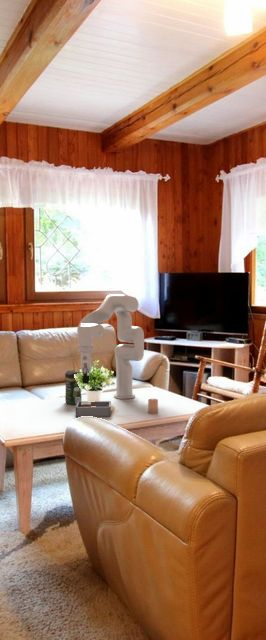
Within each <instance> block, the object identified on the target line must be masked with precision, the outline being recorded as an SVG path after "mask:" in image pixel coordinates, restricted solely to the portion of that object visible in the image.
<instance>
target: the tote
mask: <svg viewBox="0 0 266 640" xmlns="http://www.w3.org/2000/svg"><path fill="white" fill-rule="evenodd" d="M88 401H89V400H88ZM88 401H87V400H86V401H85V400H84V401H83V400H81V401H78V403H77V405H75V417H76V418H81V417H80V416H95V417H94V418H110V417H111V415H112V401H110V400H103V401H102V400H100V401H99V400H97V401H95V400H94V401H95V402H91V406H96V407H81V403H82V402H88Z"/></svg>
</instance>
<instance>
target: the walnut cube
mask: <svg viewBox="0 0 266 640" xmlns="http://www.w3.org/2000/svg"><path fill="white" fill-rule="evenodd" d="M81 407H91V402H82V403H81Z"/></svg>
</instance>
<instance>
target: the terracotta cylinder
mask: <svg viewBox="0 0 266 640" xmlns="http://www.w3.org/2000/svg"><path fill="white" fill-rule="evenodd" d="M147 404H148V407H147V410H148V412H147V413H148V414H150V415H157V414H158V412H159V411H158V410H159V399H158V398H149V399H148V400H147Z"/></svg>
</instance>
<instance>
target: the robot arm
mask: <svg viewBox="0 0 266 640" xmlns="http://www.w3.org/2000/svg"><path fill="white" fill-rule="evenodd" d="M139 306H140V305H139V300H138V299H137V298H136V297H135V296H132V295H131V296H130V295H128V294H108V295H107V296H105V298H104V299H103V300H102V302H101V303H100V305H99V306H98V308H97V309H95V310H93V311H92V312H90V313H87V315H85V316H84V317H82V319H81V320H80V321H79V324H78V326H77V329H76V333H77V341H78V342H77V345H78V349H77V350H78V353H80V369H81V372H82V375H81V380H82V381H81V383H82V384H84V385H86V384H88V385H89V383H90V380H89V376H88V373H89V372H91V371H92V369H93V367H92V365H93V364H92V361H93V360H92V353H93V352H94V346H93V345H94V343H93V342H94V339H99V338H101V337H102V336H103V335H104V333H105V329H104V326H103V325H102V324H101V323H105V322H107V321H109V320H110V319H111V318H112V316H113V315H114V313H115V315H116V318H117V321H116V322H117V325H116V326H117V327H116V328H117V333H116V334H117V339H118V341H119V342H121V344H118V345H116V346H115V348H114V357H115V365H116V372H115V373H116V374H115V375H116V376H115V377H116V387H115V388H116V393H114V394H113V398H115V399H119V400H122V399H123V400H128V399H134V398H136V394H135V393H133V366H132V363H131V362H133V361H134V362H139V361H140V362H141V361H142V360H143V359H144V353H145V333H144V332H145V331H144V329H143V328H142V327H140V326H134V325H132V324H133V323H132V318H133V317H132V315H131V313H135V312H136V311H138V309H139ZM124 342H125V343H124ZM126 343H128V344H126ZM129 343H133V344H129Z"/></svg>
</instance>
